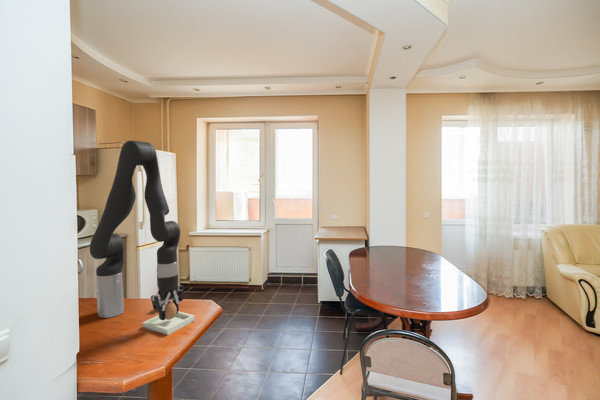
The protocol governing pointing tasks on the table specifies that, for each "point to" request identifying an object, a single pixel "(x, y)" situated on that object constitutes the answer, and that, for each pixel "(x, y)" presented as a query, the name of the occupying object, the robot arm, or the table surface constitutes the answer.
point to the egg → (170, 310)
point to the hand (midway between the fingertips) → (169, 316)
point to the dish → (169, 323)
